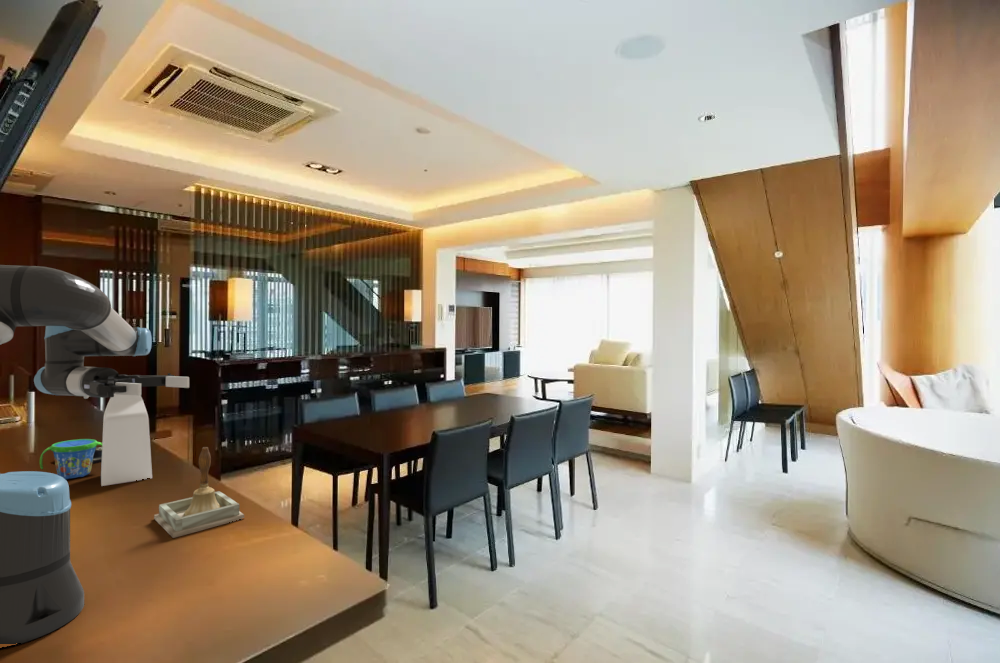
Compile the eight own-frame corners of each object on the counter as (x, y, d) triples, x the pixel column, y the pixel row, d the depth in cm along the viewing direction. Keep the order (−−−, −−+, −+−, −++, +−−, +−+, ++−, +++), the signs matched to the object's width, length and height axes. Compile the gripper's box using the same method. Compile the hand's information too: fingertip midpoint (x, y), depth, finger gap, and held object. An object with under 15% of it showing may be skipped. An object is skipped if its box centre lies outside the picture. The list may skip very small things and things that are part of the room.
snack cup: (109, 467, 160) (109, 436, 159) (105, 476, 151) (105, 443, 151) (43, 475, 151) (43, 442, 151) (36, 485, 142) (35, 450, 142)
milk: (101, 486, 143) (100, 395, 142) (100, 475, 151) (100, 390, 151) (152, 478, 150) (152, 392, 149) (149, 468, 159) (148, 387, 158)
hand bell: (218, 503, 128) (218, 441, 128) (226, 513, 122) (226, 448, 122) (180, 511, 123) (180, 446, 122) (187, 521, 117) (187, 454, 116)
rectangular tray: (244, 518, 121) (244, 504, 121) (173, 538, 110) (173, 522, 110) (221, 502, 131) (221, 489, 131) (154, 519, 120) (154, 504, 120)
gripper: (140, 390, 139) (205, 393, 134) (40, 405, 114) (116, 409, 110) (140, 363, 139) (205, 365, 134) (40, 372, 114) (116, 376, 110)
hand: (165, 385), depth 122 cm, fingers open, 13 cm apart
